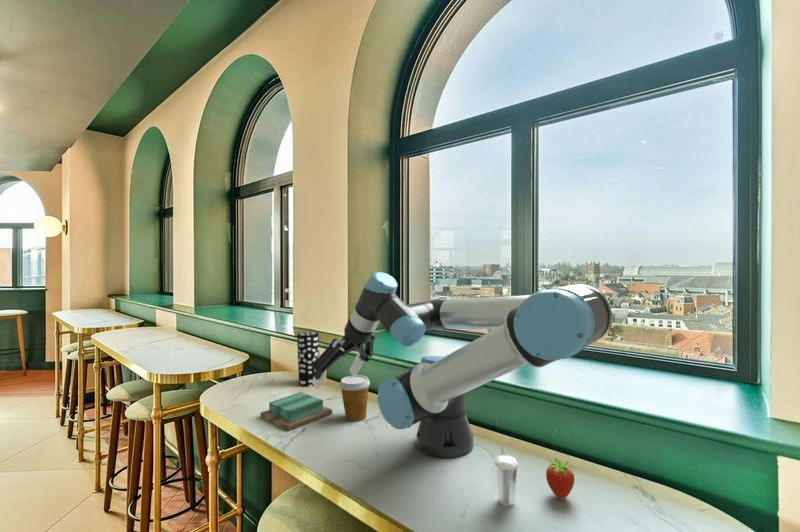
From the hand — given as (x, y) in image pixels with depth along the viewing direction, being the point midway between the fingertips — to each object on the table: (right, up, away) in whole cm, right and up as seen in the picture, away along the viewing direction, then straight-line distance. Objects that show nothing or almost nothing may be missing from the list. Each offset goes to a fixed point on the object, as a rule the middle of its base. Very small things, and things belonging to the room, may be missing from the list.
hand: (334, 379), depth 117 cm
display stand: (-14, -15, +13) cm, 24 cm away
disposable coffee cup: (+5, -15, +10) cm, 19 cm away
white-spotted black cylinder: (-17, -15, +45) cm, 51 cm away
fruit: (+52, -15, -33) cm, 64 cm away
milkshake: (+41, -15, -34) cm, 55 cm away
